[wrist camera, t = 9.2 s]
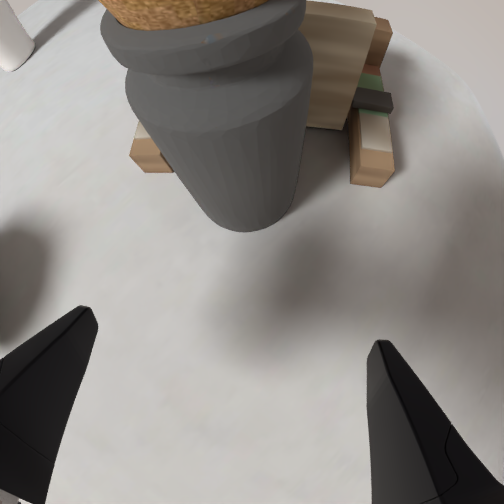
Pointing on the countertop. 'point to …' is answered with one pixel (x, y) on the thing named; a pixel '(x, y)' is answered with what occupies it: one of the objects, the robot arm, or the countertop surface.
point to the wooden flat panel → (339, 63)
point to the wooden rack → (359, 127)
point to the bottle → (220, 97)
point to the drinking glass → (13, 39)
